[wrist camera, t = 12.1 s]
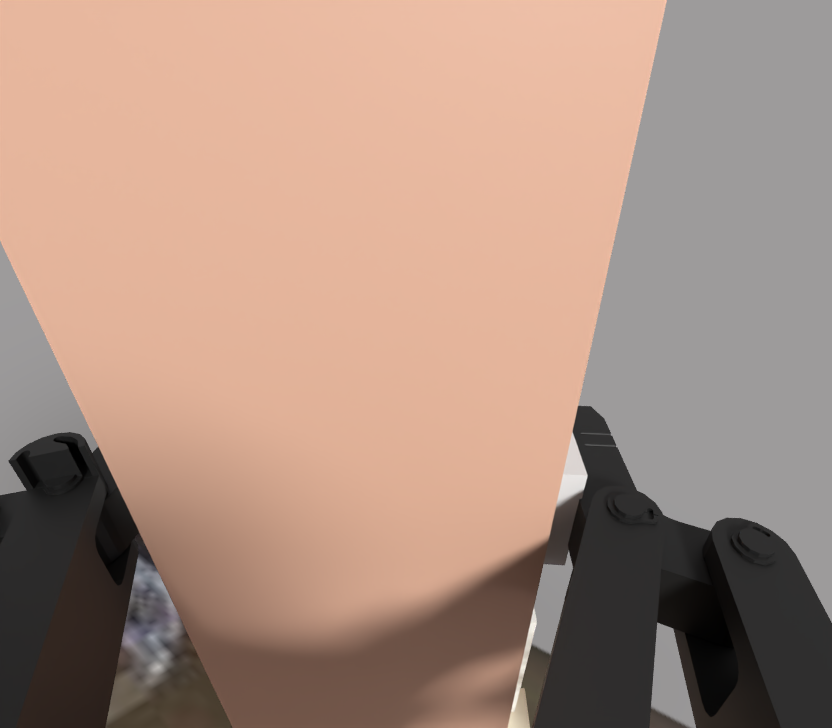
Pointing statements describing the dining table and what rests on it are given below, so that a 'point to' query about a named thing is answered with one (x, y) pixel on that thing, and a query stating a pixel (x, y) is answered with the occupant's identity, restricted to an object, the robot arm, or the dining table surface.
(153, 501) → the salmon pink rectangular block
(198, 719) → the dining table surface
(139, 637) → the dining table surface
